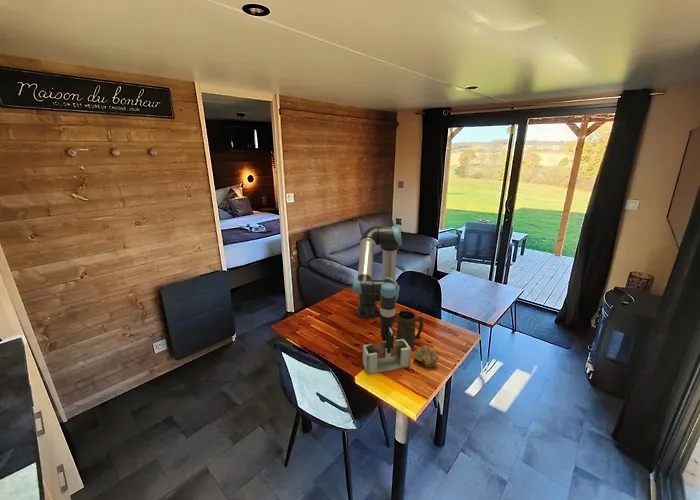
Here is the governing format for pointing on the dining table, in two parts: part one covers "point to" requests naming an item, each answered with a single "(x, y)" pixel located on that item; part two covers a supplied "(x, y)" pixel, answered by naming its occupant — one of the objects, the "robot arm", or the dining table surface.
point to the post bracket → (386, 360)
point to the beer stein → (408, 327)
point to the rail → (381, 349)
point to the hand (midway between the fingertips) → (386, 354)
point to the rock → (426, 355)
